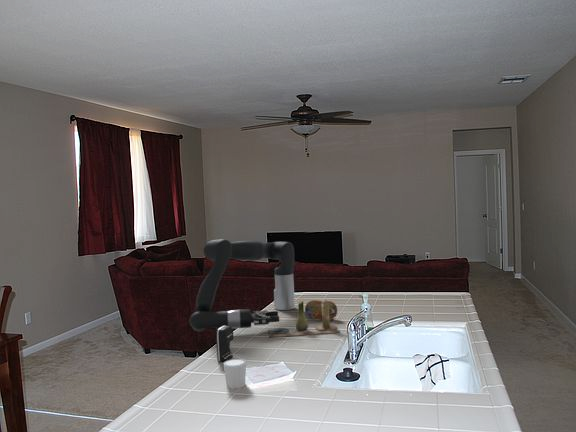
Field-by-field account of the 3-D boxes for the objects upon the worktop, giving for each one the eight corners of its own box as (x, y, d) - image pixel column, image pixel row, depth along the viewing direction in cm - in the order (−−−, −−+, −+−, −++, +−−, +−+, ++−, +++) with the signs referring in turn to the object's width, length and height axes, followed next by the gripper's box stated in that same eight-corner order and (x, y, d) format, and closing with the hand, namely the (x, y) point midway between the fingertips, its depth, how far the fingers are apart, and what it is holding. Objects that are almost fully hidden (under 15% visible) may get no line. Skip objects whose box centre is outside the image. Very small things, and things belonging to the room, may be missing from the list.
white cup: (238, 390, 151) (236, 367, 151) (219, 387, 155) (218, 364, 154) (251, 383, 157) (250, 360, 157) (234, 379, 161) (232, 357, 160)
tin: (305, 318, 234) (304, 300, 233) (308, 317, 237) (307, 298, 236) (335, 321, 227) (335, 302, 226) (338, 319, 230) (337, 300, 229)
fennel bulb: (301, 327, 218) (300, 299, 217) (311, 329, 215) (310, 300, 214) (293, 331, 213) (292, 302, 213) (302, 332, 210) (301, 303, 210)
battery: (226, 362, 177) (224, 330, 176) (216, 361, 178) (215, 329, 178) (235, 356, 183) (234, 324, 183) (226, 355, 185) (224, 324, 184)
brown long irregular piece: (268, 337, 205) (267, 308, 204) (267, 329, 217) (265, 301, 217) (340, 333, 207) (339, 303, 207) (334, 325, 220) (333, 297, 219)
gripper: (238, 313, 204) (279, 311, 206) (239, 306, 219) (277, 303, 220) (239, 332, 205) (280, 329, 206) (239, 323, 219) (277, 321, 220)
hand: (278, 316), depth 213 cm, fingers open, 8 cm apart
